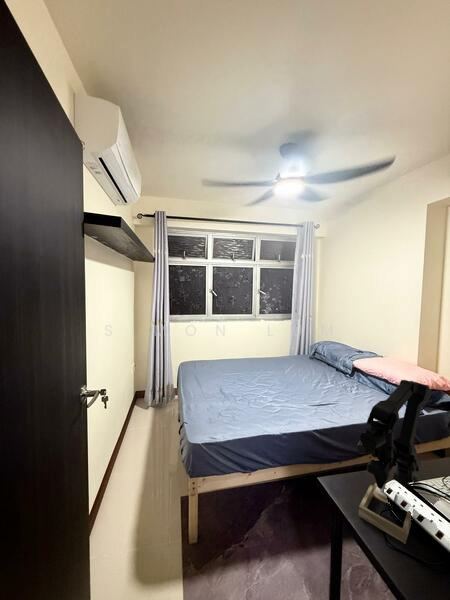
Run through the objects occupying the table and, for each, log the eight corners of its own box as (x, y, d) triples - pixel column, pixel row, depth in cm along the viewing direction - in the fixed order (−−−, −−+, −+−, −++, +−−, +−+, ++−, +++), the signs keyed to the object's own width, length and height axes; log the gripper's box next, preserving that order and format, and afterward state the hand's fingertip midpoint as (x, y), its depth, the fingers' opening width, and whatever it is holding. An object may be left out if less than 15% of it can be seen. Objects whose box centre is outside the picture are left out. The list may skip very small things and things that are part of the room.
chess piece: (393, 499, 90) (394, 473, 90) (378, 497, 91) (379, 471, 91) (387, 488, 95) (387, 463, 95) (373, 487, 96) (373, 462, 96)
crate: (370, 493, 94) (370, 484, 94) (413, 515, 85) (413, 505, 85) (358, 516, 85) (358, 506, 85) (405, 543, 76) (405, 532, 75)
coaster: (375, 484, 98) (375, 482, 98) (396, 494, 93) (396, 493, 93) (369, 495, 93) (369, 493, 93) (391, 506, 88) (391, 505, 88)
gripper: (367, 422, 104) (366, 458, 105) (351, 442, 91) (351, 483, 92) (399, 433, 96) (398, 472, 97) (387, 456, 83) (386, 501, 84)
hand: (383, 481), depth 93 cm, fingers open, 9 cm apart
